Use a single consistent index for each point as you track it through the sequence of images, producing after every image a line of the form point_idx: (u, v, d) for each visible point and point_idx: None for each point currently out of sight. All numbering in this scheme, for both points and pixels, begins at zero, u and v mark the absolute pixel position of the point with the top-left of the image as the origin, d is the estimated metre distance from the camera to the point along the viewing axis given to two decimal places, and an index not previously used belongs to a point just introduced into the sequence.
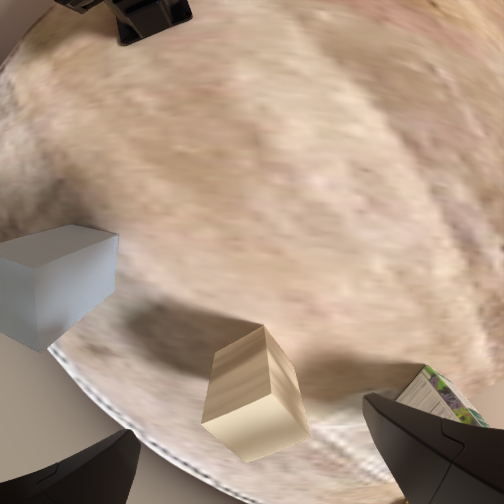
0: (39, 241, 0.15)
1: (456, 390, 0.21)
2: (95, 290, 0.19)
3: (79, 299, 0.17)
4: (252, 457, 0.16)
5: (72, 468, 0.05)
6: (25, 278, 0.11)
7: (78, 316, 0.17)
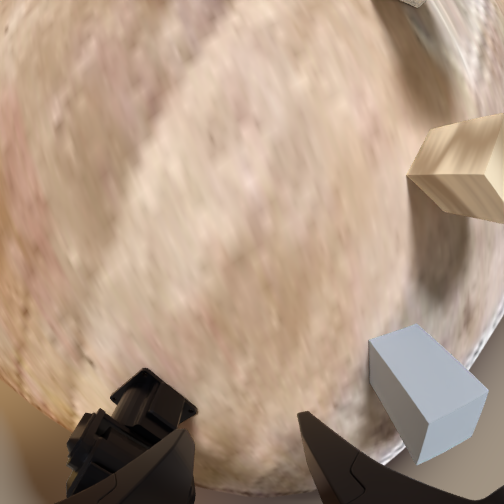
0: (398, 414, 0.17)
1: None
2: (423, 348, 0.19)
3: (437, 363, 0.17)
4: None
5: (135, 479, 0.05)
6: (436, 425, 0.12)
7: (450, 358, 0.17)
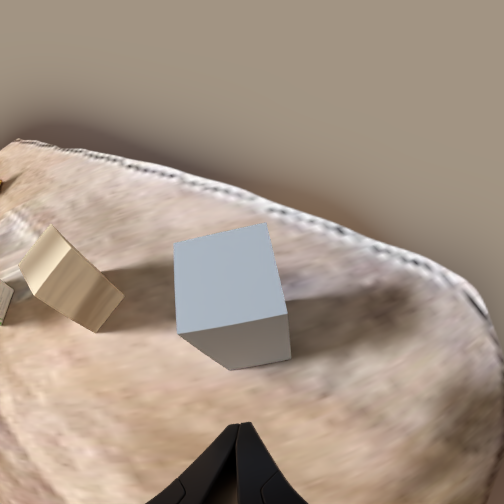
0: (258, 344, 0.16)
1: None
2: None
3: None
4: (47, 230, 0.21)
5: (205, 481, 0.05)
6: (189, 318, 0.13)
7: None
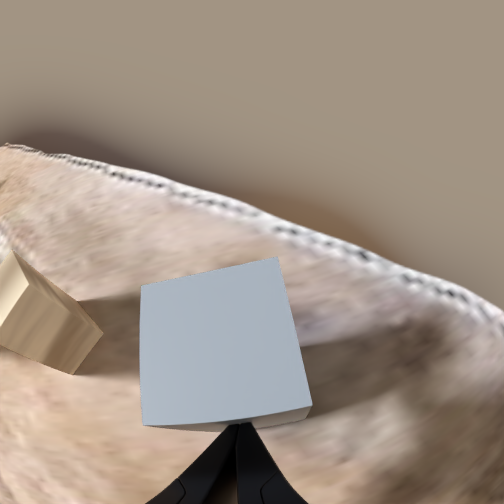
0: (264, 422, 0.10)
1: None
2: None
3: None
4: (7, 258, 0.15)
5: (205, 481, 0.05)
6: (159, 404, 0.07)
7: None
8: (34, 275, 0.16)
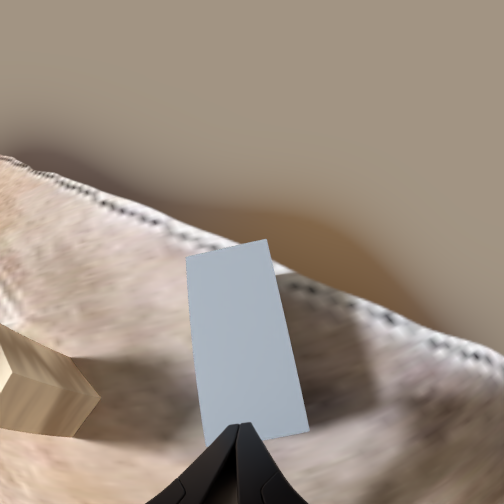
0: (248, 311, 0.15)
1: None
2: None
3: None
4: None
5: (205, 481, 0.05)
6: None
7: None
8: (18, 347, 0.13)
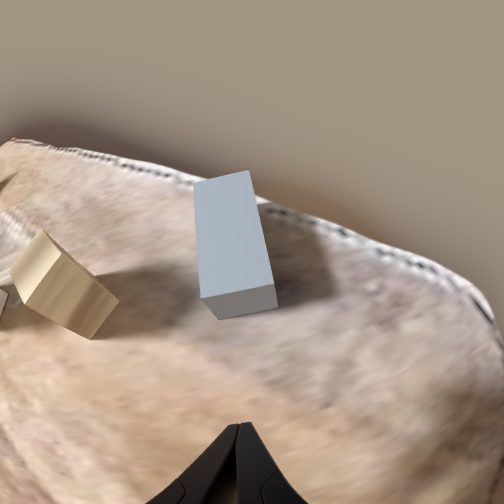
0: (234, 210, 0.23)
1: None
2: None
3: None
4: (37, 235, 0.19)
5: (205, 481, 0.05)
6: None
7: None
8: (61, 249, 0.21)
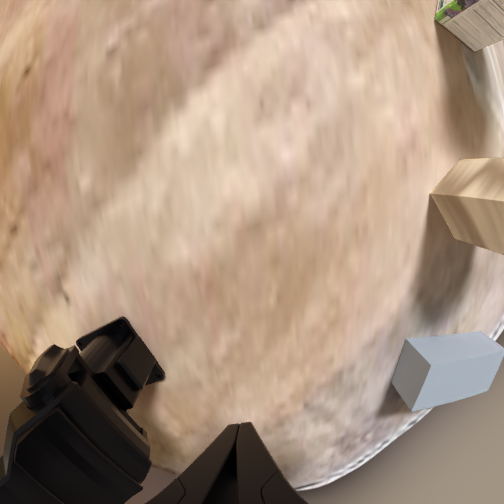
0: (470, 384, 0.19)
1: None
2: (441, 341, 0.22)
3: (458, 340, 0.22)
4: None
5: (205, 481, 0.05)
6: None
7: (453, 334, 0.23)
8: None
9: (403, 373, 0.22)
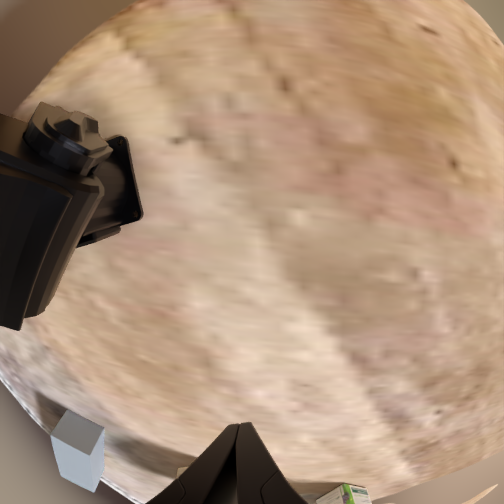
0: (69, 469, 0.21)
1: None
2: (100, 450, 0.25)
3: (100, 459, 0.25)
4: None
5: (205, 481, 0.05)
6: None
7: (103, 454, 0.26)
8: None
9: (77, 424, 0.23)
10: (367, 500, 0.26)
